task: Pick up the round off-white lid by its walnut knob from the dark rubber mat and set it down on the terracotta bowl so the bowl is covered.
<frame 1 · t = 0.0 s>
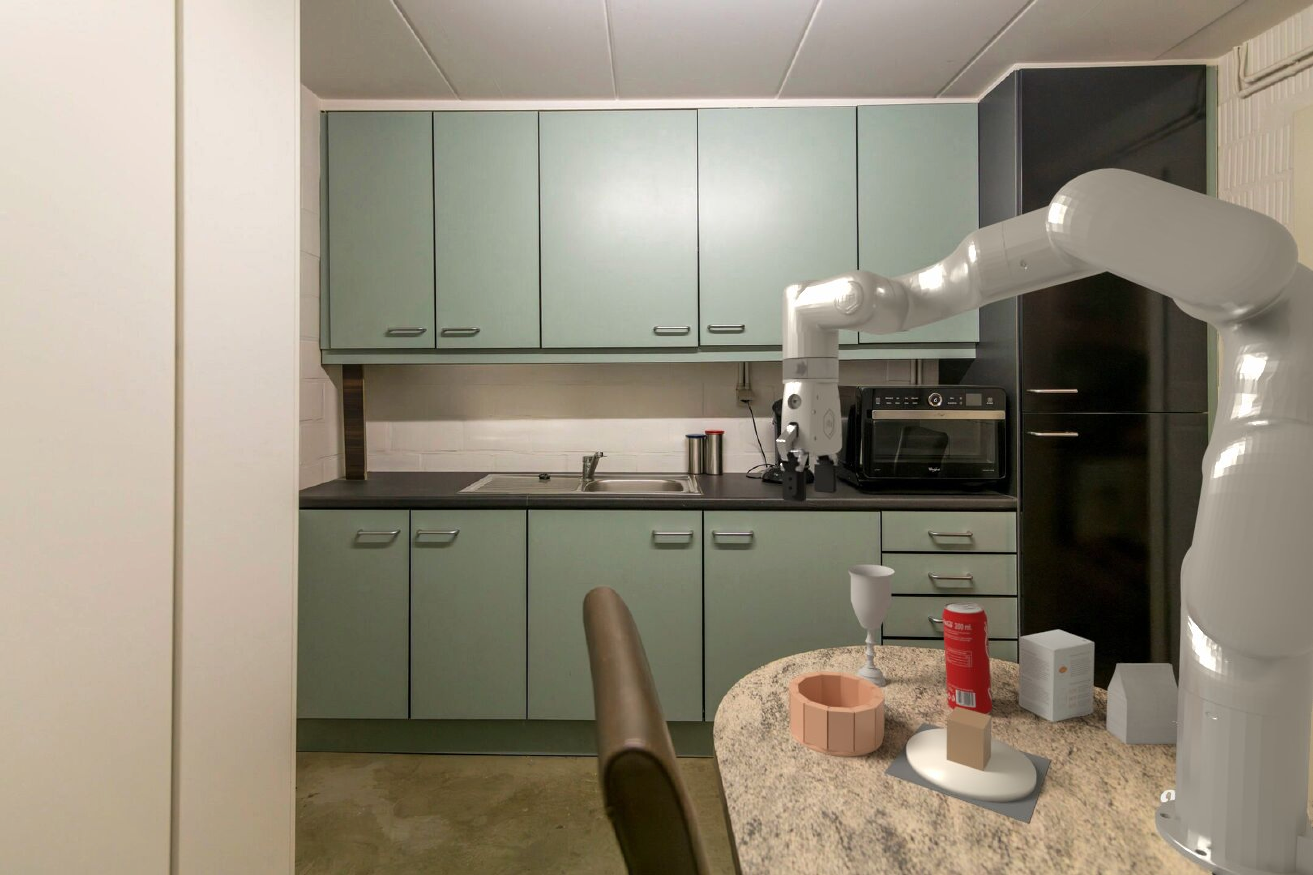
hand: (810, 496, 90), 31 cm above the table, tool pointing down, fingers open, 9 cm apart
chalice: (870, 684, 101), on the table
small box: (1054, 712, 92), on the table
white gabled block: (1142, 740, 84), on the table
beverage can: (966, 710, 92), on the table
mat: (968, 768, 77), on the table
bowl: (835, 734, 86), on the table
lid: (968, 765, 77), resting on mat
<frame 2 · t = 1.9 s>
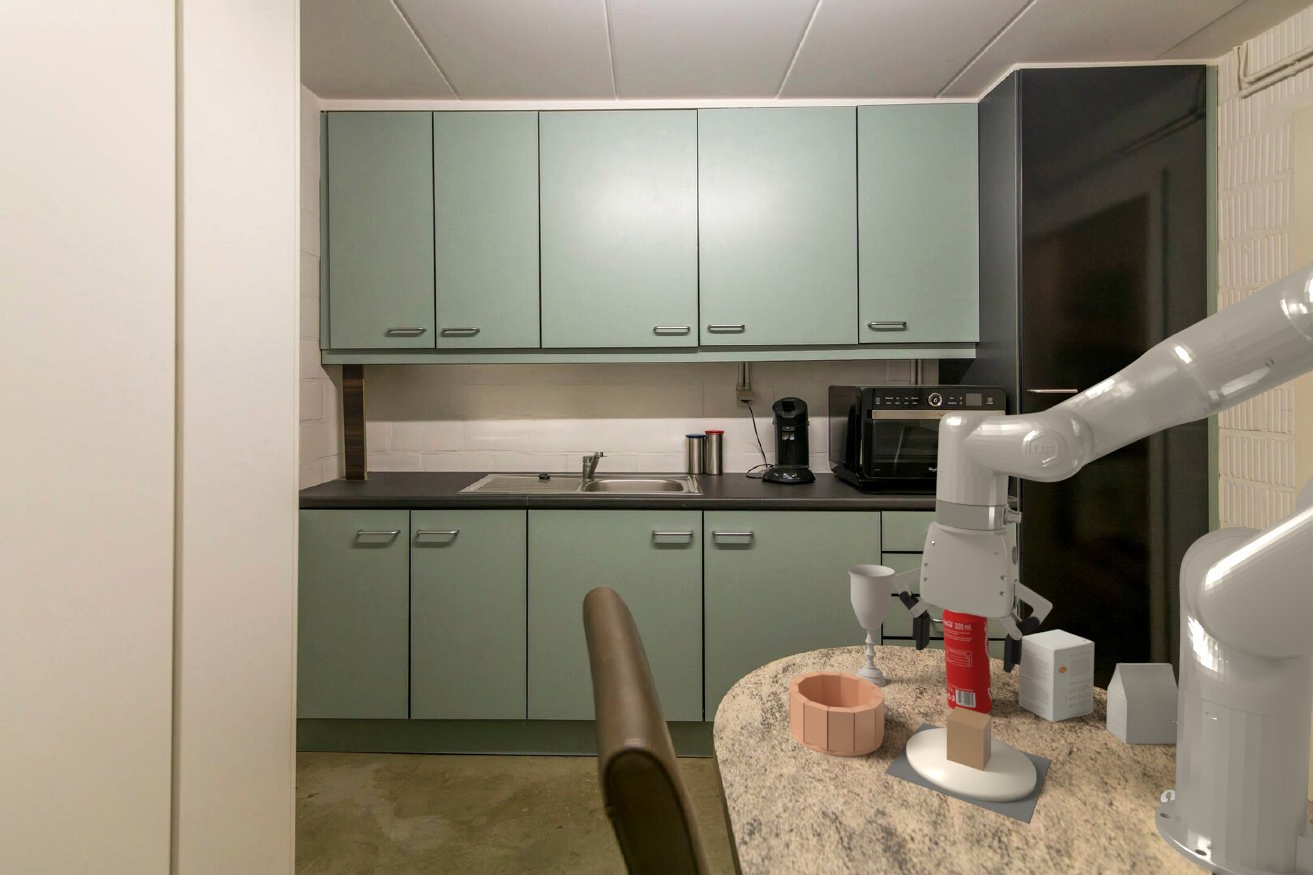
hand: (964, 657, 77), 14 cm above the table, tool pointing down, fingers open, 9 cm apart
nothing on the table moved.
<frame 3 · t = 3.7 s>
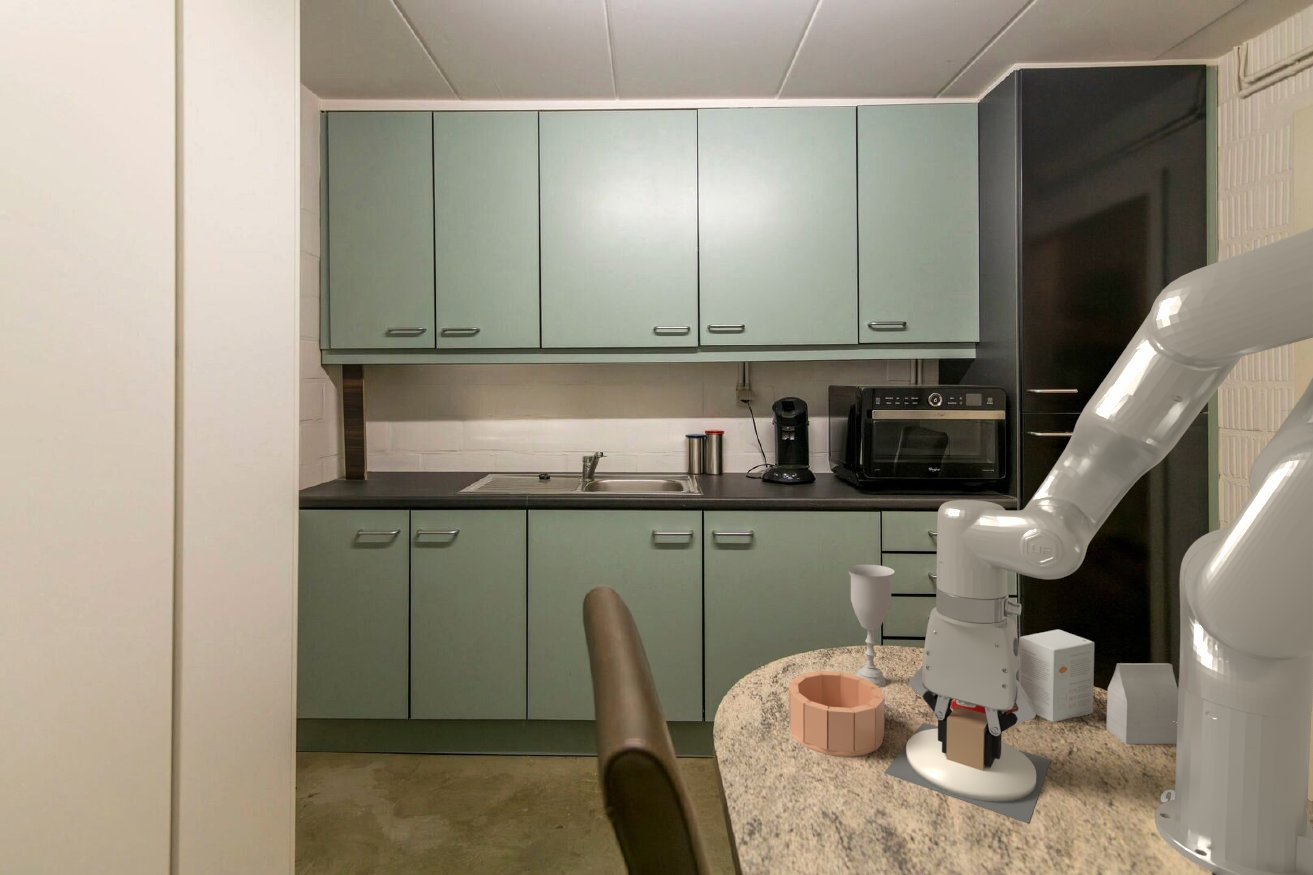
hand: (968, 753, 77), 2 cm above the table, tool pointing down, fingers closed on lid, 4 cm apart
lid: (968, 765, 77), resting on mat, touching gripper
everything else where it was.
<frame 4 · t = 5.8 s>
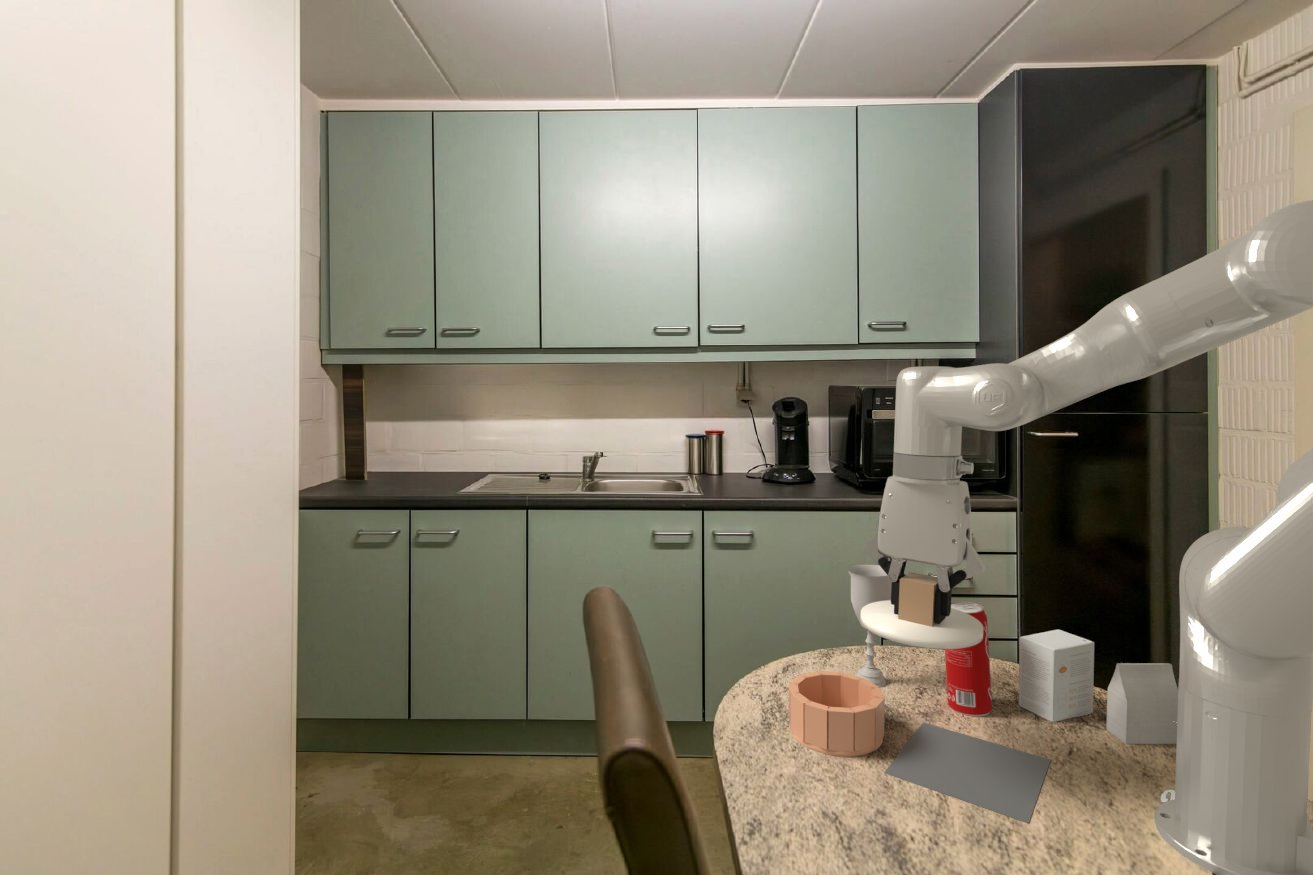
hand: (919, 614, 79), 18 cm above the table, tool pointing down, fingers closed on lid, 4 cm apart
lid: (919, 626, 80), point 16 cm above the table, touching gripper
everything else where it was.
when the fingers open (8 cm above the table, at t = 8.1 s): lid stays where it is, resting on bowl.
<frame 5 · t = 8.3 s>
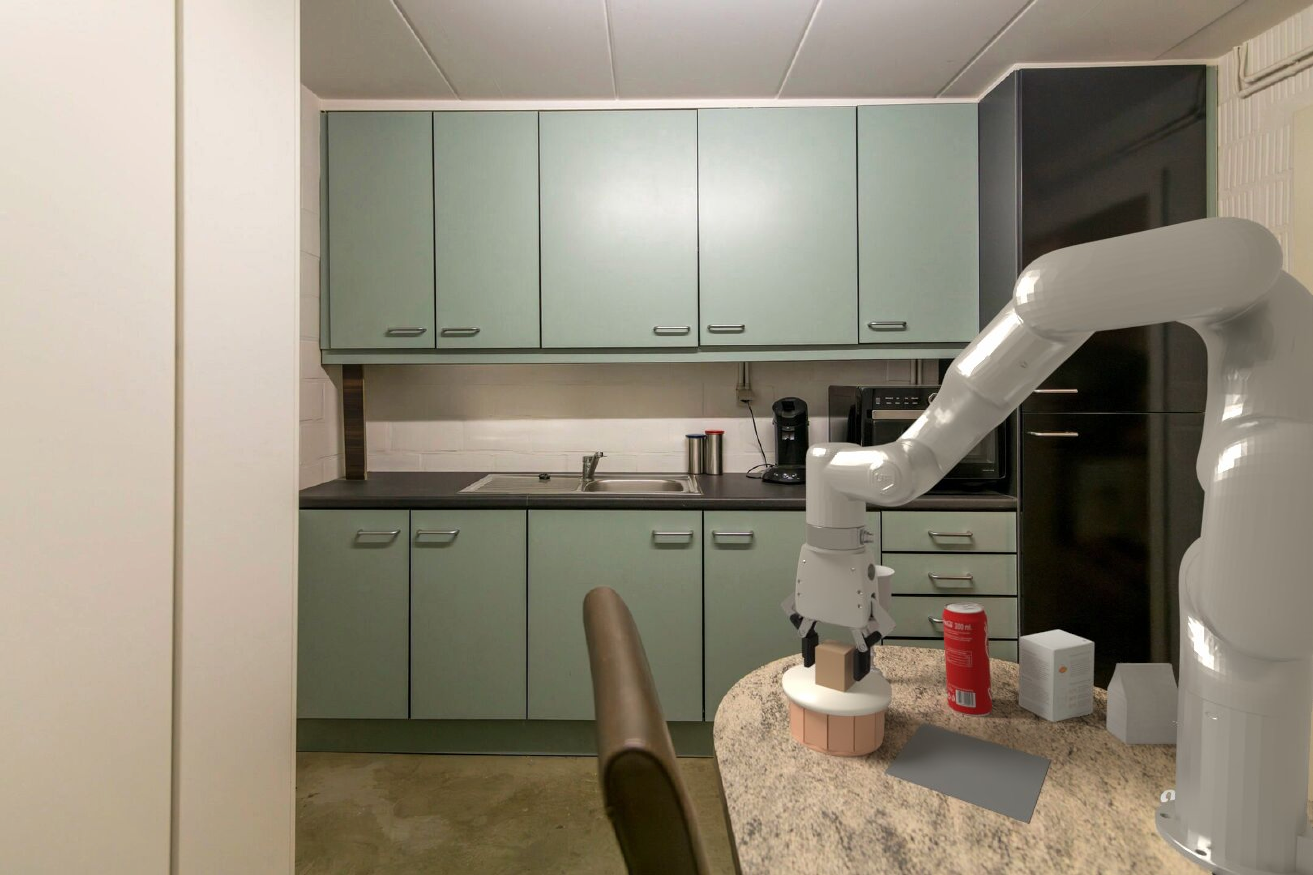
hand: (835, 669, 85), 9 cm above the table, tool pointing down, fingers open, 6 cm apart
lid: (835, 690, 86), point 6 cm above the table, touching bowl
everything else where it was.
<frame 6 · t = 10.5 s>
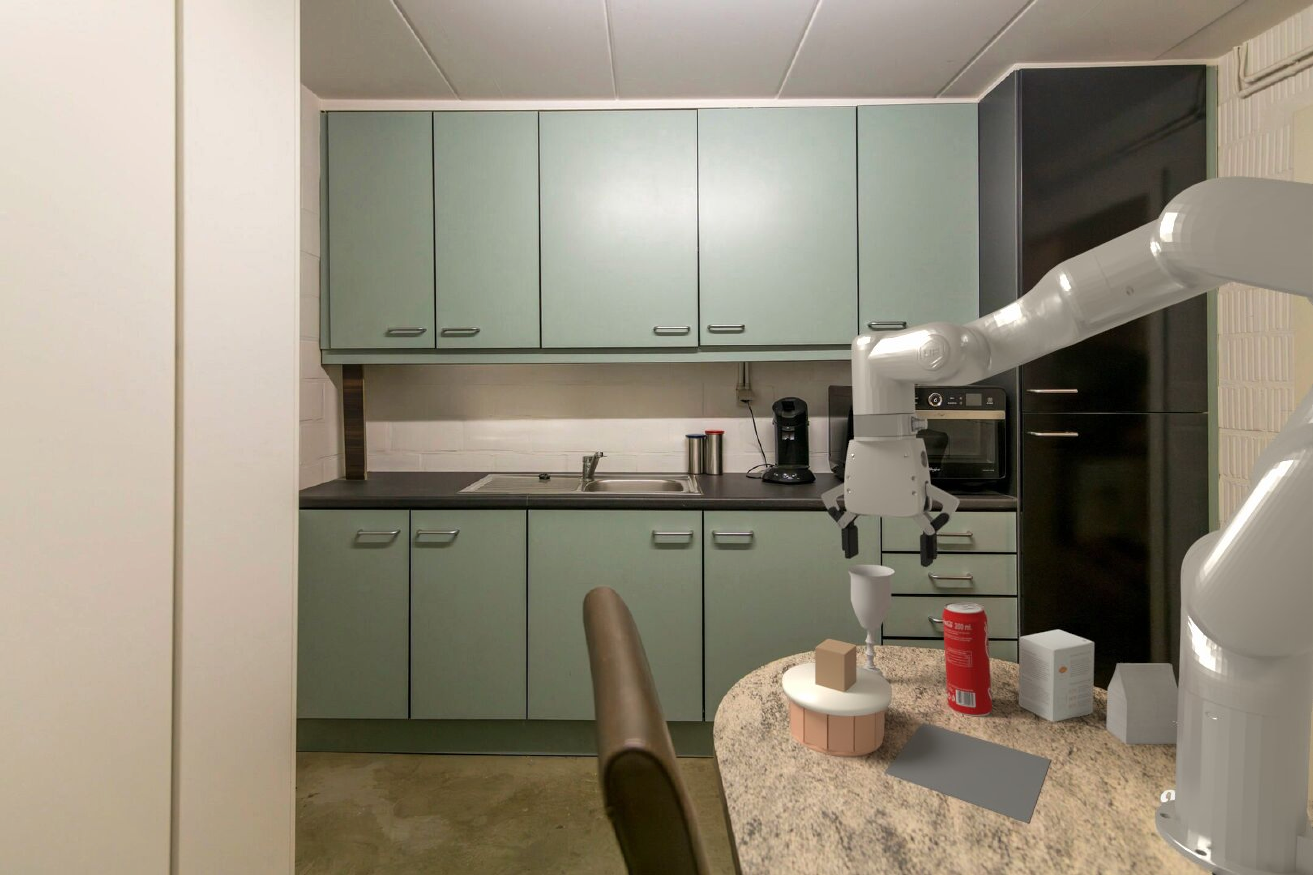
hand: (888, 560, 83), 24 cm above the table, tool pointing down, fingers open, 9 cm apart
nothing on the table moved.
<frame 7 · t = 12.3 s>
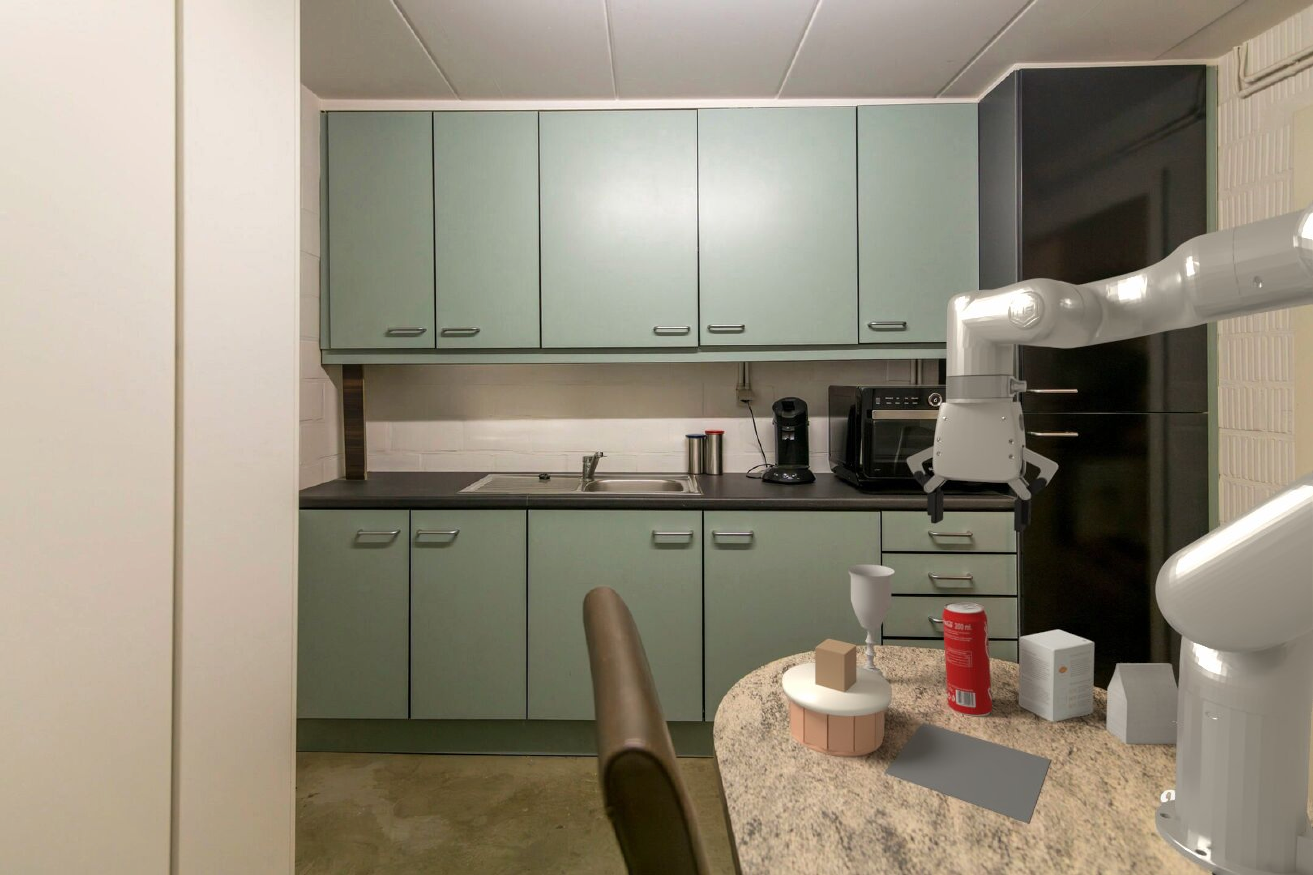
hand: (976, 525, 82), 28 cm above the table, tool pointing down, fingers open, 9 cm apart
nothing on the table moved.
at the end: lid 0.1 cm off-centre on the bowl, point 6.0 cm above the bowl's base; lid tilted 0°; the gripper is holding nothing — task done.
